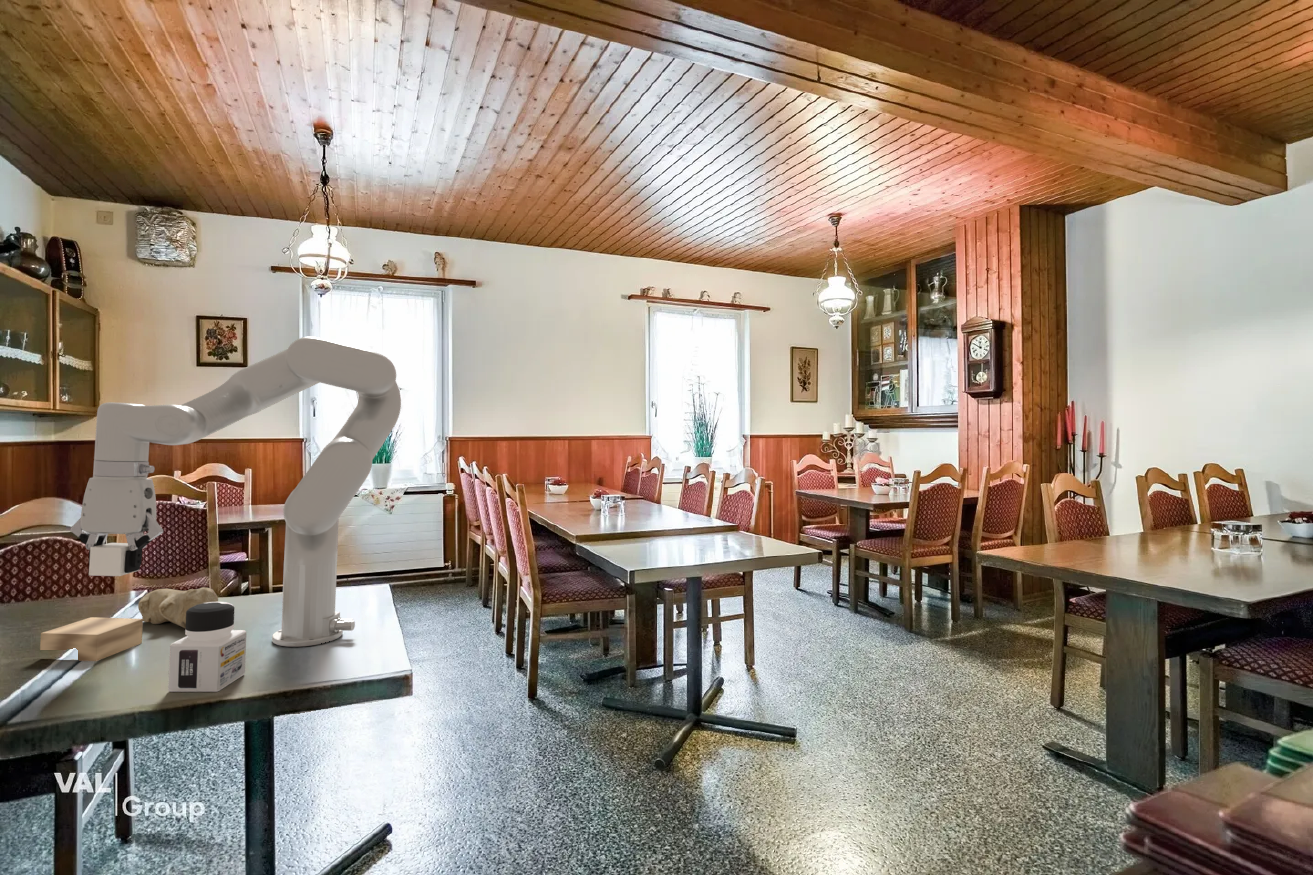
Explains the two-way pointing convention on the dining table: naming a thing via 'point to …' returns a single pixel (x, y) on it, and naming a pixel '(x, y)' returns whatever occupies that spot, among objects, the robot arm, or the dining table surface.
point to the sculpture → (173, 604)
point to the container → (207, 650)
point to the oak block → (94, 637)
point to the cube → (108, 559)
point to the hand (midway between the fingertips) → (114, 569)
